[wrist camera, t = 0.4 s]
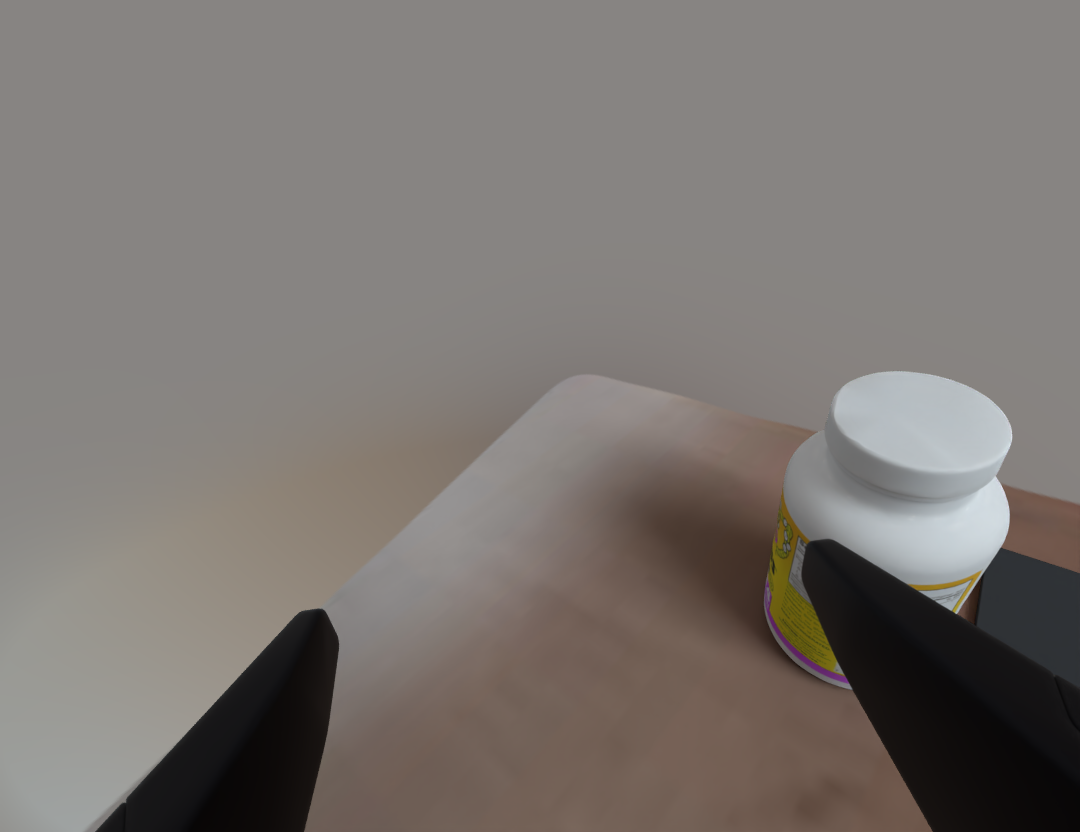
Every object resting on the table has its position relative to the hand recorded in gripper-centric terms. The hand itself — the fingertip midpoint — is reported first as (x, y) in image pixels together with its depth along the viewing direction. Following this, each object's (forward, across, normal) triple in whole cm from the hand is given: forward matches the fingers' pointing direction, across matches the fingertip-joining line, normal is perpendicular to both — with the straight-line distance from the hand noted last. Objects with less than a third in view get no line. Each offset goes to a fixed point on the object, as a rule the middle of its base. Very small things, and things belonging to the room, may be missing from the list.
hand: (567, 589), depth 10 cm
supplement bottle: (+9, -12, +15) cm, 21 cm away
